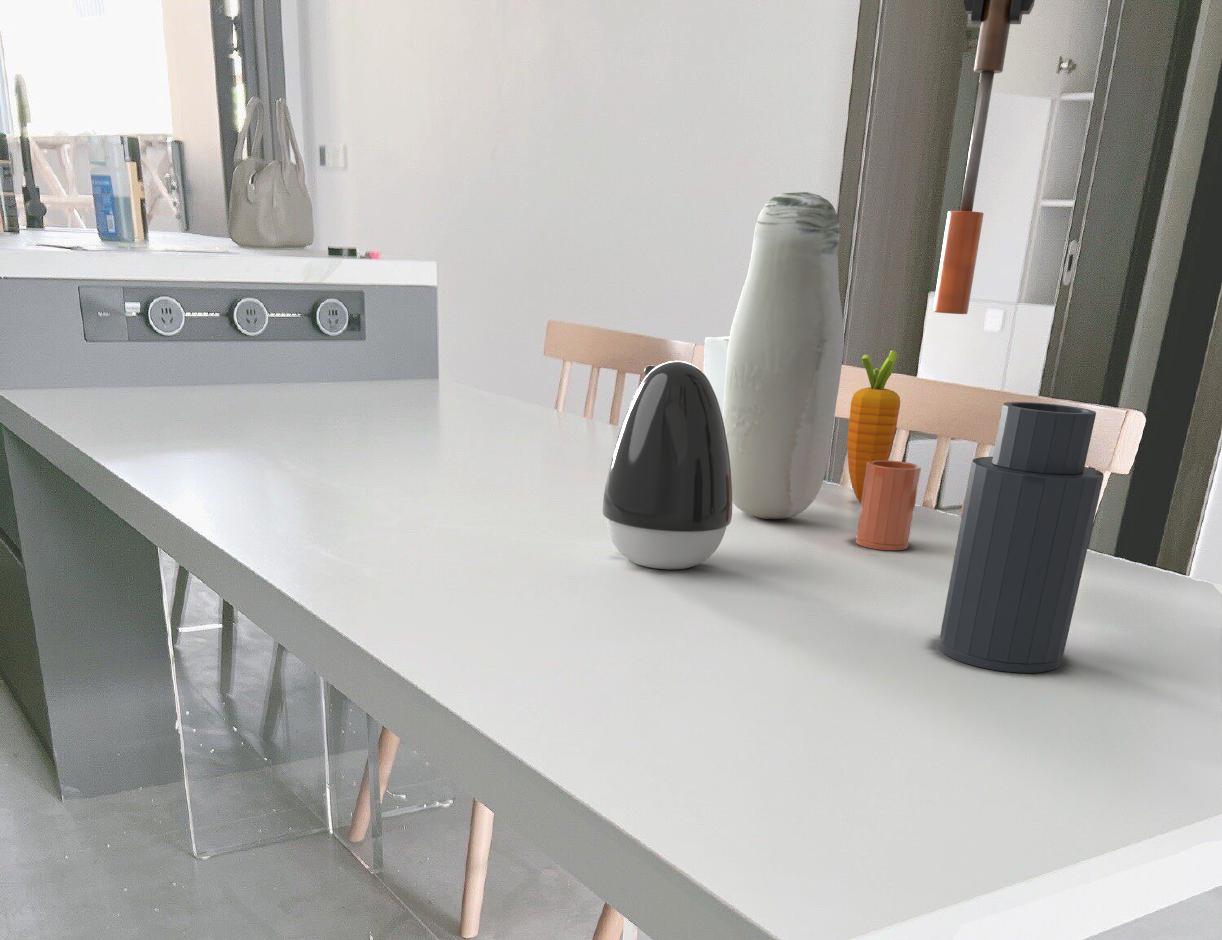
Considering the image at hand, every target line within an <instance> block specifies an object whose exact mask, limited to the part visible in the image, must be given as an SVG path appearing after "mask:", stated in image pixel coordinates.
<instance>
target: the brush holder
mask: <svg viewBox="0 0 1222 940" xmlns="http://www.w3.org/2000/svg"><path fill="white" fill-rule="evenodd" d="M921 470H922V466H920V465H919V464H915V463H912V462H905V461H900V460H899V461H898V460H889V459H888V460H873V461H868V462H867V466H866V473H865V480H864V487H863V493H862V500H861V503H860V507H859V515H858V522H857V527H856V535H855V536H856V538H855V543H856V544H857V545H859V546H861V547H863V548H869V549H873V550H879V551H903V550H906V549H908V548H909V542H910V538H911V532H912V526H913V519H914V514H915V508H916V501H917V495H918V490H919V489H918V488H919V483H920V478H921Z"/></svg>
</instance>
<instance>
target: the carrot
mask: <svg viewBox="0 0 1222 940" xmlns="http://www.w3.org/2000/svg"><path fill="white" fill-rule="evenodd" d="M897 357H898V353H897V352H896V350H890V352H889V354H888V356H887V358H886V359H885V361H884V362H883V363H882V365H881V366H880V368H878V367H876V368H874V366H873V361H872V359H871V356H870V355H869V354H864V355H863V356H862V357H861V360H862V361H861V364H862V366H863V367H864V368H865V371H866V374H867V377H868V381H869V386H870V387H869V386H868V387H863V388H860V389H858V390H857V391H855V393H853V395H852V397H851V401H850V409H849V417H848V429H847V465H848V474H849V478H850V484H851V486H852V490H853V493H854V495H855V498H856V500H857V501H858V502H859V503H860V504H861V500H862V493H863V487H864V480H865V473H866V466H867V462H868V461H873V460H889V456H890V453H891V450H892V447H893V445H894V439H895V435H896V430H897V424H898V420H899V414H900V408H901V397H900V396H899V394H898V393H897V392H895V391H894V390H892V389H890V388H889V389H888V388H885V387H886V384H887V382H888V380H889V379H890V377H891V376H892V374H893V372H892V371H893V368H894V366H895V363H896V360H897Z"/></svg>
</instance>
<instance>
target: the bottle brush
mask: <svg viewBox="0 0 1222 940" xmlns="http://www.w3.org/2000/svg"><path fill="white" fill-rule="evenodd" d="M1011 3H1012V0H985V3H984V9H983V16H982V22H981V24H980V26H979V34H978V40H977V47H976V54H975V59H974V67H973V72H974V73H977V74H980V78H979V85H978V91H977V97H976V98H977V99H976V104H975V111H974V116H973V117H974V118H973V124H972V131H971V137H970V143H969V148H968V149H969V150H968V156H967V163H966V169H965V176H964V180H963V189H962V194H961V199H960V200H961V201H960V206H959V207H960V208H959V210H948V211H947V216H946V222H945V229H944V235H943V241H942V249H941V254H940V262H939V268H938V274H937V282H936V289H935V295H934V301H933V308H932V312H933V313H938V314H950V315H951V314H952V315H968V312H969V306H970V299H971V294H972V288H973V282H974V276H975V269H976V264H977V257H978V252H979V246H980V239H981V234H982V226H983V221H984V212H982V211H973V209H974V202H975V198H976V197H975V196H976V189H977V186H978V185H977V184H978V179H979V171H980V166H981V159H982V154H983V147H984V141H985V133H986V127H987V123H988V122H987V121H988V116H989V115H988V114H989V109H990V103H991V96H992V91H993V84H994V78H995V74H1001V73H1003V71H1004V66H1005V59H1006V52H1007V47H1008V40H1009V34H1010V28H1011V24H1010V22H1009V16H1010V9H1011Z"/></svg>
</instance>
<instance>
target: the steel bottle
mask: <svg viewBox="0 0 1222 940" xmlns="http://www.w3.org/2000/svg"><path fill="white" fill-rule="evenodd" d="M1096 416H1097V412H1096V411H1095V410H1091V409H1088V408H1084V407H1078V406H1072V405H1063V404H1054V403H1045V402H1031V401H1029V402H1028V401H1007V402H1003V404H1002V406H1001V412H1000V417H999V422H998V426H997V434H996V438H995V443H994V447H993V454H992V456H980V457H976V458H973V459H972V461H971V462H970V469H969V473H968V479H967V485H966V490H965V495H964V501H963V502H964V503H963V508H962V511H961V518H960V524H959V530H958V534H957V540H956V545H955V553H954V557H953V563H952V567H951V574H950V580H949V585H948V589H947V595H946V601H945V606H944V613H943V616H942V617H943V618H942V623H941V628H940V633H939V643H938V648H939V650H940V652H942V653H943V654H944V655H946V656H947V657H949V658H951V659H953V660H956V661H958V662H960V663H964V664H967V665H971V666H974V667H977V668H982V669H986V670H993V671H999V672H1007V673H1016V674H1017V673H1018V674H1019V673H1021V674H1033V673H1034V674H1035V673H1036V674H1037V673H1045V672H1050V671H1053V670H1056V669H1058V668H1060V666H1061V665H1062V661H1063V657H1064V654H1065V650H1066V645H1067V642H1068V636H1069V633H1070V628H1071V624H1072V620H1073V614H1074V610H1075V605H1076V601H1077V597H1078V592H1079V587H1080V583H1081V579H1082V575H1083V571H1084V566H1085V561H1086V558H1087V557H1086V556H1087V553H1088V548H1089V544H1090V539H1091V536H1092V535H1091V534H1092V530H1093V526H1094V523H1095V516H1096V513H1097V508H1098V504H1099V501H1100V500H1099V499H1100V495H1101V491H1102V487H1103V482H1104V477H1105V474H1104V473H1103V472H1102V471H1099V470H1098V469H1095V468H1092V467H1088V466H1086V462H1087V457H1088V452H1089V448H1090V443H1091V438H1092V434H1093V430H1094V427H1095V420H1096Z"/></svg>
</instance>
